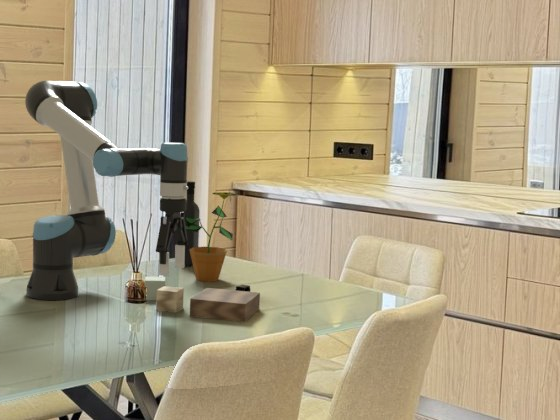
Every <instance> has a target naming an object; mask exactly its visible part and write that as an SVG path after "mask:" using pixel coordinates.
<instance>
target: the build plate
mask: <svg viewBox="0 0 560 420" xmlns="http://www.w3.org/2000/svg"><path fill="white" fill-rule="evenodd" d="M235 290H236V291H247V292H251V286H250V285H247V284H240V285H237V286H236V287H235Z"/></svg>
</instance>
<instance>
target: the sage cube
mask: <svg viewBox="0 0 560 420" xmlns="http://www.w3.org/2000/svg"><path fill="white" fill-rule="evenodd" d="M145 283H146V286H147V292H146V295H147V296H146V300H145V301H157V290H158V289H160V288H162V287H163V286H166V276H145V278H144V284H145Z"/></svg>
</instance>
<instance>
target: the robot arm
mask: <svg viewBox="0 0 560 420" xmlns="http://www.w3.org/2000/svg"><path fill="white" fill-rule="evenodd" d="M97 99H98V98H97V96H96V93H95V91H94V90H93V89H92V87H91V86H89V84H86V83H84V82H81V81H79V82H78V81H74V80H72V81H67V80H65V81H63V80H41V81H38V82H36V83H35V84H32V85H31V86H30V88H29V89H28V91H27V92H26V95H25V102H24V103H25V109H26V111H27V112H28V114H29V115H30V117H31V118H32V120H34V121H35V122H37V123H38V124H40V126H43V127H49V129H51V130H52V131H54V132H55V133H56V134H57V135H59V137H60V142H61V149H62V156H63V163H64V170H65V177H66V185H67V190H68V191H67V192H68V199H69V205H70V209H69V210H68V212H67V213H66V214H57V215H49V216H43V217H41V218H39V219H37V220H36V221H34V224H33V231H32V271H31V274H30V276H29V280H28V282H27V286H26V289H25V291H26V295H25V296H27V298H31V299H33V300H34V299H35V300H43V301H61V300H62V301H63V300H69V299H74V298H77V297H78V296H79V286H78V282H77V279H76V275H75V273H74V258H81V257H82V258H83V257H89V256H98V255H100V254H104V253H106V252H108V251H109V250H111V248H112V246H113V245H114V243H115V240H116V235H117V231H116V225H115V222H114V221H112V219H111V217H109V216H107V215H106V209H105V208H103V207H102V206H101V205H100V204H99V197H98V190H97V183H96V178H95V172H96V174H98V175H99V176H102V177H110V178H113V177H121V176H137V175H154V176H155V175H156V176H159V177H160V179H159V196H160V197H161V198H160V199H159V210H160V212H164V213H165V215H164V216H161V217H160V226H159V230H158V234H157V235H158V237H157V242H156V247H155V252H156V253H158V276H161V277H168V276H170V252H168V251H169V249H170V245H171V243H172V242H171V241H172V237H173V236H174V240H175V243H176V244H175V245H174V249H175V250H174V268H179V269H184V268H185V266H184V265H185V246H184V245H188V242H187V241H188V238H187V232H186V225H185V213H184V212H185V211H186V201H187V200H186V199H187V190H188V186H187V182H188V178H187V177H188V176H187V175H188V161H189V157H188V146H187V144H186V143H185V142H163V143H162V142H161V144H160V148H153V147H147V146H139V147H138V146H137V147H133V148H130V147H129V148H120V147H118V146H117V145H116V144H115V143H113V142H112V141H111V140H109V139H108V138H107V137H106V136H104V135H103V134H101V132H99V131H98V130H96V129H95V128H94V127H92V126H91V125H92V123H93V122H92V119H93V118H94V116H95V115H96V113H97V111H96V110H98V100H97ZM185 197H186V198H185Z"/></svg>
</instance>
